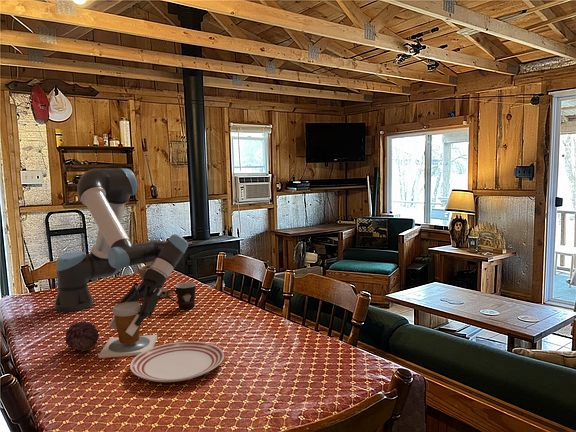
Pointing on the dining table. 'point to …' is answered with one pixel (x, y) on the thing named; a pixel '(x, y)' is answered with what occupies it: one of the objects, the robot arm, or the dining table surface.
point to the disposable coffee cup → (126, 320)
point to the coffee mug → (185, 295)
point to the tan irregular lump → (164, 290)
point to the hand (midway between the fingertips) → (120, 330)
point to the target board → (127, 347)
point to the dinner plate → (176, 361)
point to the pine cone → (82, 335)
